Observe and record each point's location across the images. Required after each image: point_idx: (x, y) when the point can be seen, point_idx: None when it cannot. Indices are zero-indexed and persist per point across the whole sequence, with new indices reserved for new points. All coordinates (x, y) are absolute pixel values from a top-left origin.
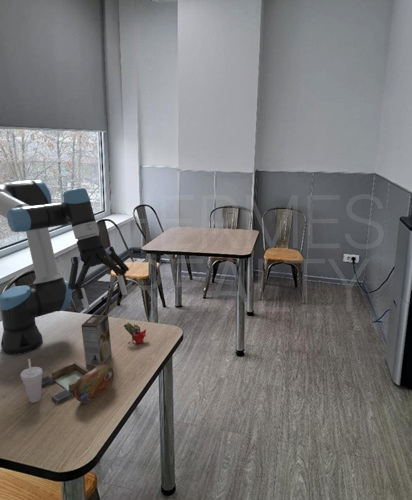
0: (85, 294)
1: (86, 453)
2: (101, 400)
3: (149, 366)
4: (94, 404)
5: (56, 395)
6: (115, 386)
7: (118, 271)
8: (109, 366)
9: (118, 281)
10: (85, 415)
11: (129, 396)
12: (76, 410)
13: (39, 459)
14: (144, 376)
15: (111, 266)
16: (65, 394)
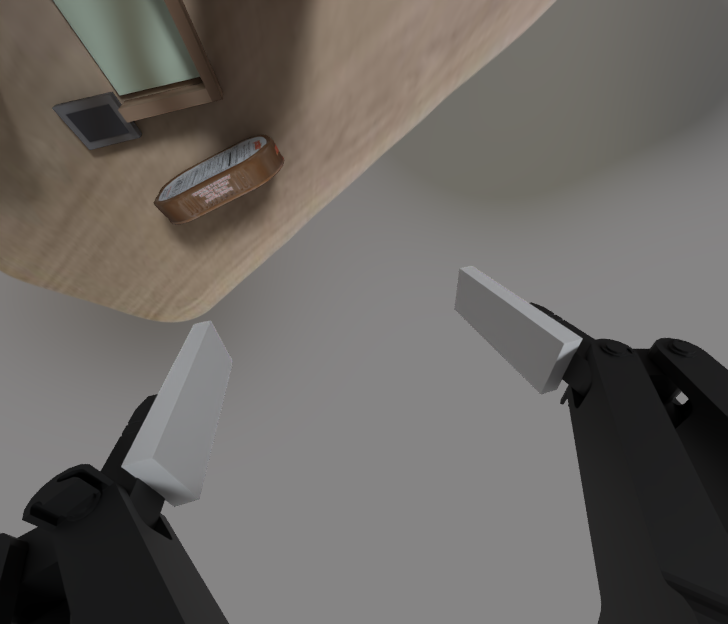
0: (211, 438)
1: (194, 306)
2: None
3: (388, 122)
4: None
5: (74, 117)
6: None
7: (573, 426)
8: (275, 173)
9: (522, 317)
10: (190, 229)
11: (295, 215)
12: None
13: (103, 297)
14: (354, 162)
15: (590, 521)
16: (114, 131)
